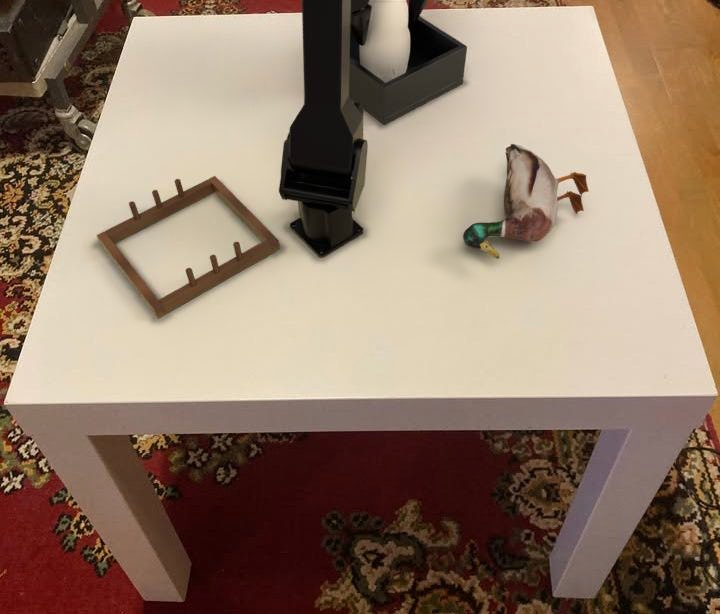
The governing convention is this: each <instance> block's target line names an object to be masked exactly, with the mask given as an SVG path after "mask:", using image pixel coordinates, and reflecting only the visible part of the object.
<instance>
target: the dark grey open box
mask: <svg viewBox="0 0 720 614" xmlns="http://www.w3.org/2000/svg"><path fill="white" fill-rule="evenodd" d="M408 29H409V32H410V55H409V60H408V65H407V69H406V73H404V74H402V75H400V76H398V77H396V78H394V79H392V80H390V81H388V82H386V83H385V82H384V81H382V80H381V79H380V78H378V77H377V76H376V75H374V74H373V73H371V72H370V71H369V70H367V69H366V68H365V67H363V66H362V65H360V51H359V46H360V44H358V42H357V40H356V37H355V35H354V33H353V30H352V28H351V25H350V63H349V96H350V98H351V99H352V101H353V102H354V103H360V104H361V105H362V108H363V110H364V112H366V113H367V114H369V115H370V116H371V117H373V118H374V119H376V121H378V122H379V123H381V125H383V126H386V125H387V124H390V123H391V122H393V121H396V120H397V119H399V118H401V117H402V116H404V115H406V114H408V113H411V112H412V111H414V110H416V109H418V108H419V107H421V106H424V105H425V104H428V103H430V102H431V101H433V100H434V99H438V98H439V97H440V96H443V95H445V94H446V93H448V92H450V91H452V90H454V89H456V88H458V87H459V86H461V85H463V84H464V76H465V68H466V60H467V51H468V46H467V45H466V44H464V43H463V42H461V41H460V40H458V39H456V38H454V37H453V36H452V35H450V34H449V33H447V32H445V31H444V30H442V29H440V28H439V27H437V26H436V25H434V24H433V23H431V22H430V21H428V20H426V19H425V18H424V17H422V16H421V15H420V16H419V17H418V19H417V21H415V22H413V21H412V20H410V18H409V8H408Z"/></svg>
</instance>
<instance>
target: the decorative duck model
mask: <svg viewBox="0 0 720 614" xmlns="http://www.w3.org/2000/svg"><path fill="white" fill-rule="evenodd" d="M504 153H505V158H506V180H505V185H504V192H503V212H504V217H505V218H504V219H503V220H501V221H493V222H491V221H490V222H483V221H482V222H480V221H479V222H474V223H472V224H471V225H470V226H468V227H467V228H466V229H465V230H464V231H463V234H462V240H463V242H464V244H465V246H468V247H470V248H472V249H477V250H481V251H484V252H486V253H488V254H489V255H490V256H491V257H493V258H494V259H495V260H499V259H500V253H499V252H498V250H496V249H495V248H494V247H493V246H492V245H491V244H490V243H489V242H488V238H490V237H491V238H492V237H495V238H496V237H497V238H498V237H499V238H508V239H514V240H518V241H524V242H531V243H536V242H540V241H541V240H543V238H545V237H546V236H547V235H548V234H549V232H550V231H551V230H552V228H553V227H554V224H555V222H556V219H557V216H558V206H559V205H558V202H559V201H561V200H563V199H566V198H568V199H569V201H570V205H571V207H572V210H573V212H574V214H576V215H578V213H579V212H584V211H585V210H584V205H583V200H582V197H583V194H584V193H589V191H590V190H589V187H588V183H587V175H586V174H585V173H582V172H581V173H578V172H576V171H574V172H571V173H569V174H568V175H565V176H561V177H558V178H556V177H555V175H554V174H553V172H552V170H551V168H550V166H549V165H548V164H547V163H546V162H545V160H543V159H542V158H541V157H540V156H538V155H537V154H535V153H534V152H533V151H531V150H529V149H528V148H526V147H524V146H523V145H522V146H521V145H519V144H515V143H510V145H509V146H507V147H505V152H504ZM571 179H572V180H573V182H574V184H575V187H576V188H577V191H578V193H579V194H578V193H576V192H573V191H571V190H570V191H567V192H566V193H564V194H562V195H560V196H558V190H559V184H560V183H562V182H563V181H567V180H571Z"/></svg>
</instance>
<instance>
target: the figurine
mask: <svg viewBox="0 0 720 614" xmlns="http://www.w3.org/2000/svg"><path fill="white" fill-rule="evenodd" d="M368 4H369V5H371V6H372V10H371V16H370V22H369V28H368V34H367V39H366V42H365V45H364V46H361V45H360V46H359V51H360V65H362V66H363V67H365V68H366V69H367V70H369V71H370V72H371V73H373V74H374V75H376V76H377V77H378V78H380V79H381V80H382V81H384V82H385V83H386V82H388V81H390V80H392V79H394V78H396V77H398V76H400V75H402V74H404V73H406V69H407V65H408V60H409V55H410V32H409V29H408V9H409V4H408V2H407V0H369V2H368Z"/></svg>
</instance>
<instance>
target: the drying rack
mask: <svg viewBox="0 0 720 614" xmlns="http://www.w3.org/2000/svg"><path fill="white" fill-rule="evenodd" d="M174 184H175V188H176V191H177V194H175V195H174V196H172V197H170V198H168V199H165V200H164V201H162V200H161V196H160V193H159V190H158V189H153V190H152V191H151V195H152V199H153V200H154V203H155V205H154V206H152V207H150V208H148V209H146V210H144V211H142V212H140V213H139V210H138V208H137V205H136V202H135V201H130V202H128V206H129V209H130V212H131V214H132V217H129V218H127V219H125V220H124V221H122V222H120V223H118V224H116V225H114V226H112V227H110V228H108V229H106V230H104V231H101V232H99V233H98V234H96V237H97V240H98V242H99V245H100V246H101V247H102V249H103V250H104V251H105V252H106V253H107V255H108V256H109V258H110V259H111V260H112V261H113V263H115V265H116V266H117V267H118V269H119V270H120V271H121V273H122V275H123V276H124V277H125V278H126V279H127V281H128V282H129V283H130V284H131V286H132V287H133V289H134V290H135V291H136V292H137V293H138V295H139V296H140V297H141V299H142V300H143V301H144V303H145V304H146V305H147V306H148V308H149V309H150V310H151V312H152V313H153V314H154V316H155V317H156V318H157V319H161V318H162V317H164V316H166V314H169V313H171V312H172V311H174V310H176V309H177V308H179V307H181V306H183V305H185V304H186V303H188V302H190V301H192V300H193V299H195V298H197V297H199V296H200V295H202V294H204V293H206V292H207V291H209V290H212V289H213V288H214V287H216V286H218V285H219V284H222V283H223V282H225V281H226V280H228V279H230V278H232V277H234V276H235V275H237V274H239V273H241V272H242V271H244V270H246V269H248V268H249V267H252V266H254V265H255V264H256V263H258V262H260V261H262V260H264V259H265V258H268V257H269V256H270V255H272V254H274V253H276V252H278V251H280V249H281V248H280V241H279V239H278V238H277V237H276V236H275V235H274V234H273V233H272V232H271V231H270V229H268V228H267V227H266V226H265V225H264V224H263V223H262V222H261V220H260V219H259V218H258V217H256V215H254V214H253V213H252V211H250V210H249V208H248V207H246V206H245V205H244V204H243V202H242V201H241V200H239V198H238V197H237V196H236V195H234V193H233V192H232V191H230V189H229V188H228V187H226V185H225V184H223V182H222V181H221V180H220V179H219V178H218V177H217V176H216V175H213V176H211V177H209V178H208V179H205V180H204V181H202V182H199V183H198V184H196V185H193V186H191V187H190V188H187V189H185V190H184V188H183V185H182V182H181V179H180V178H176V179H175V180H174ZM212 194H215V195H216V196H217V197H218V199H220V200H221V201H222V202H223V204H225V205H226V206H227V207H228V208H229V209H230V210H231V211H232V212H233V214H235V216H236V217H238V218H239V220H240V221H241V222H242V223H243V224H244V225H245V226H246V227H247V228H248V229H249V230H250V231H251V232H252V233H253V234H254V236H256V237H257V239H259V241H261V242H260V243H258V244H256V245H254V246H252V247H250V248H249V249H247V250H245V251H243V252H242V248H241V244H240V242H239V241H234V242H233V243H232V246H233V249H234V254H235V257H233V258H230V259H229V260H227V261H225V262H223V263H222V264H220V265H219V262H218V258H217V255H216V254H211V255H209V261H210V265H211V268H212V269H211V270H209V271H207V272H206V273H204V274H201V276H198V277H197V278H195V275H194V271H193V268H191V267H187V268H186V269H185V274H186V277H187V280H188V283H185V285H183V286H181V287H179V288H177V289H176V290H174V291H172V292H170V293H168V294H167V295H165V296H163V297H161V298H159V299H158V297H157V296H156V295H155V294H154V292H153V291H152V289H151V288H150V287H149V286H148V285H147V284H146V282H145V281H144V280H143V278H142V277H141V276H140V274H139V273H138V272H137V271H136V269H135V268H134V267H133V266H132V264H131V262H129V260H128V259H127V258H126V257H125V256H124V254H123V253H122V252H121V250H120V249H119V248H118V247H117V245H116V244H117V243H119V242H121V241H122V240H125V239H127V238H129V237H130V236H132V235H134V234H136V233H139V232H140V231H142V230H145V229H146V228H149V227H150V226H152V225H154V224H157V223H158V222H160V221H162V220H164V219H165V218H167V217H170V216H172V215H173V214H175V213H178V212H180V211H181V210H183V209H186V208H187V207H189V206H191V205H193V204H195V203H197V202H199V201H200V200H202V199H204V198H207V197H209V196H210V195H212Z"/></svg>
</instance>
